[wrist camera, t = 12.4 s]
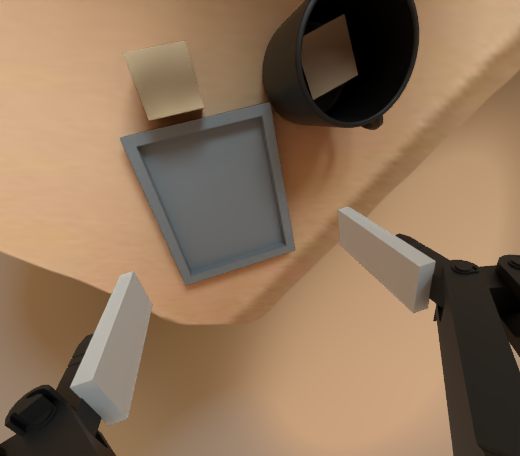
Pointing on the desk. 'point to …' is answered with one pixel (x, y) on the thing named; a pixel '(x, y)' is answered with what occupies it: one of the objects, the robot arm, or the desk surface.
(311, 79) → the walnut block
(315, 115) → the mug
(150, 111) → the oak block
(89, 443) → the robot arm
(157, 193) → the tray
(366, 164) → the desk surface
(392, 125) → the desk surface
